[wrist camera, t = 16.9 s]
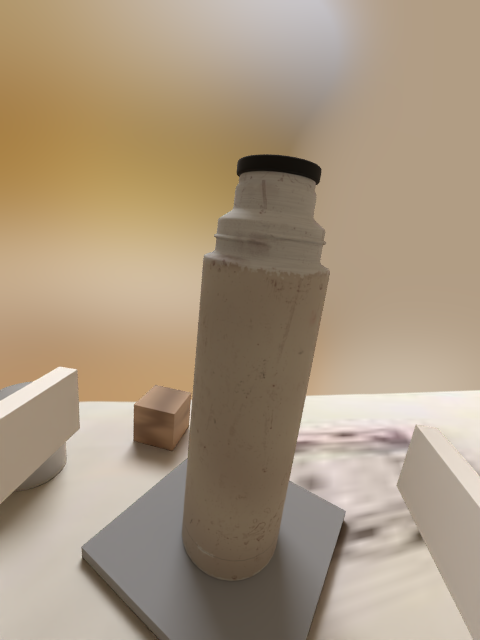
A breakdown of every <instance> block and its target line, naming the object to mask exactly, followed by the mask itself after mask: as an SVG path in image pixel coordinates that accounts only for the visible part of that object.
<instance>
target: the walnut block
mask: <svg viewBox="0 0 480 640" xmlns="http://www.w3.org/2000/svg"><path fill="white" fill-rule="evenodd" d="M190 403H191V393H190V392H185V391H181V390H176V389H171V388H167V387H162V386H158V385H155V386H154V387H153V388H152V389H150V390H149V391H148V392H147V393H146V394H145V395H144V396H143V397H142V398H141V399H140V400H139V401H137V402H136V403H135V404H134V441H136V442H140V443H144V444H148V445H151V446H155V447H159V448H163V449H167V450H170V451H173V449H174V448H175V446H176V445H177V443H178V442H179V440H180V439H181V437H182V436H183V434H184V433H185V431H186V429H187V428H188V426H189V416H190Z"/></svg>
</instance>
